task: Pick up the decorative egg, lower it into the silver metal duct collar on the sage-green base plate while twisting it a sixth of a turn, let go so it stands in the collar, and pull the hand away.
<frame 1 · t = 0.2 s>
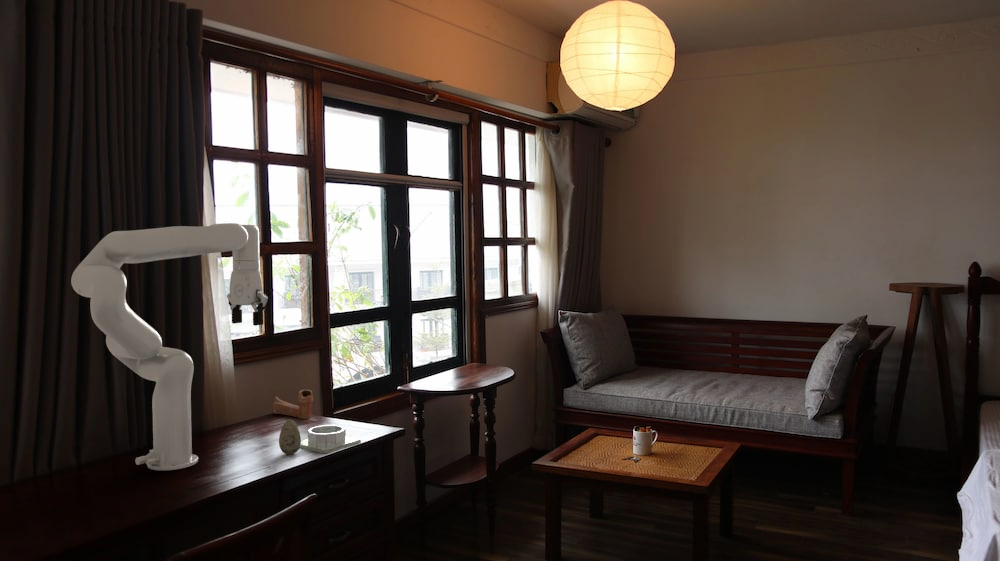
hand: (247, 324, 212), 36 cm above the table, tool pointing down, fingers open, 9 cm apart
decorative egg: (290, 455, 204), on the table
pipe: (293, 417, 249), on the table
duct collar: (327, 444, 214), on the table
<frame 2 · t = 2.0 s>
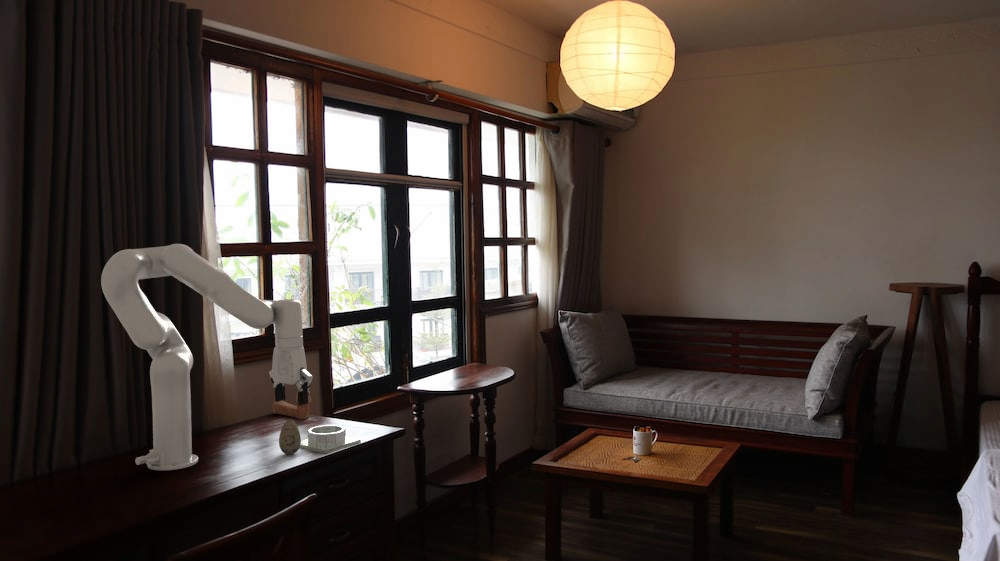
hand: (291, 402, 203), 15 cm above the table, tool pointing down, fingers open, 9 cm apart
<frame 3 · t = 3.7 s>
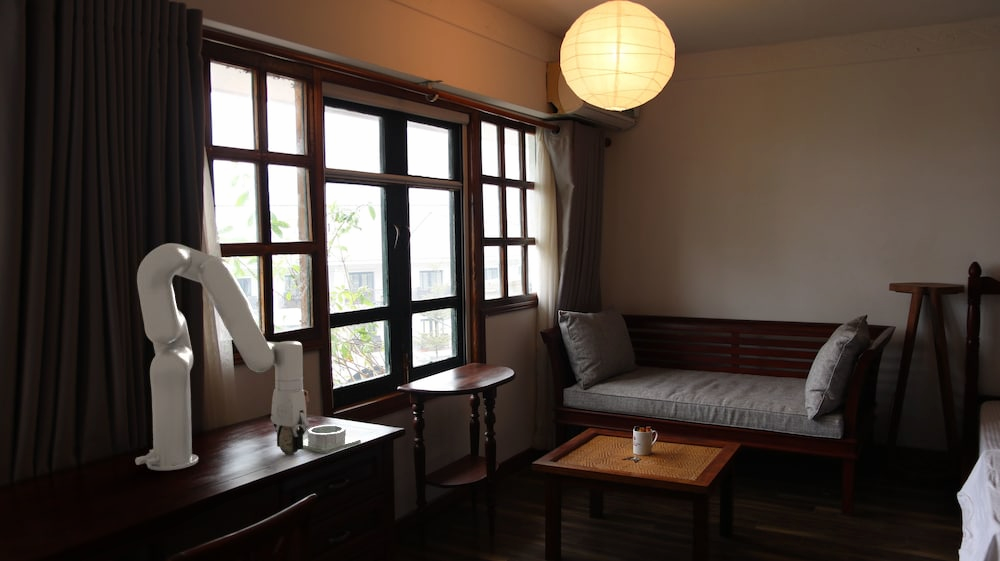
hand: (290, 447, 204), 2 cm above the table, tool pointing down, fingers closed on decorative egg, 6 cm apart
decorative egg: (290, 455, 204), on the table, touching gripper
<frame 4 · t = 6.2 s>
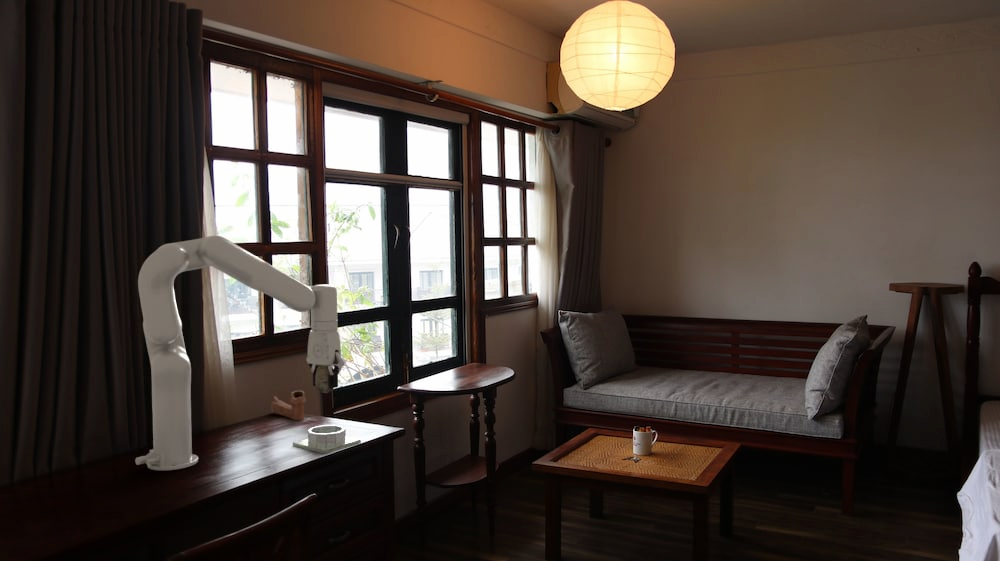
hand: (325, 385, 213), 18 cm above the table, tool pointing down, fingers closed on decorative egg, 6 cm apart
decorative egg: (325, 393, 213), point 15 cm above the table, touching gripper
when the fingers open (5 cm above the table, at t = 8.6 s): decorative egg drops 2 cm, resting on duct collar.
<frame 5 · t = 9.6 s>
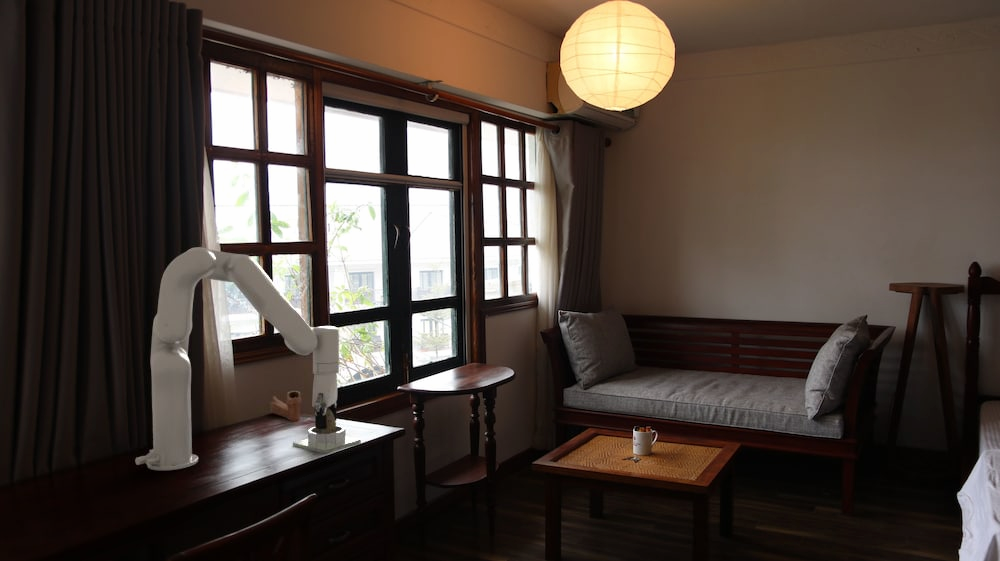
hand: (326, 424, 214), 6 cm above the table, tool pointing down, fingers open, 9 cm apart
decorative egg: (325, 441, 214), point 1 cm above the table, touching duct collar
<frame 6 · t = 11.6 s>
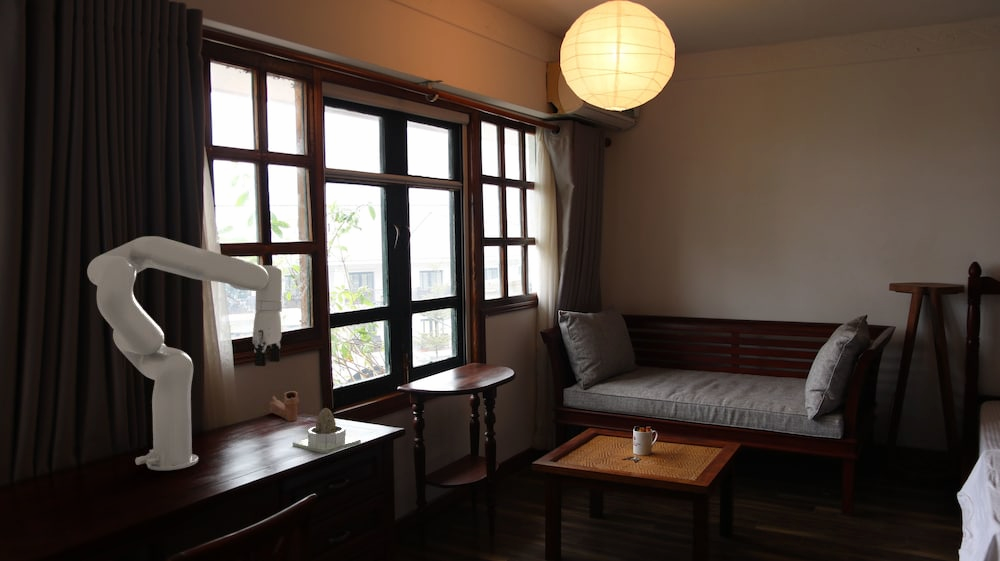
hand: (267, 363, 214), 24 cm above the table, tool pointing down, fingers open, 9 cm apart
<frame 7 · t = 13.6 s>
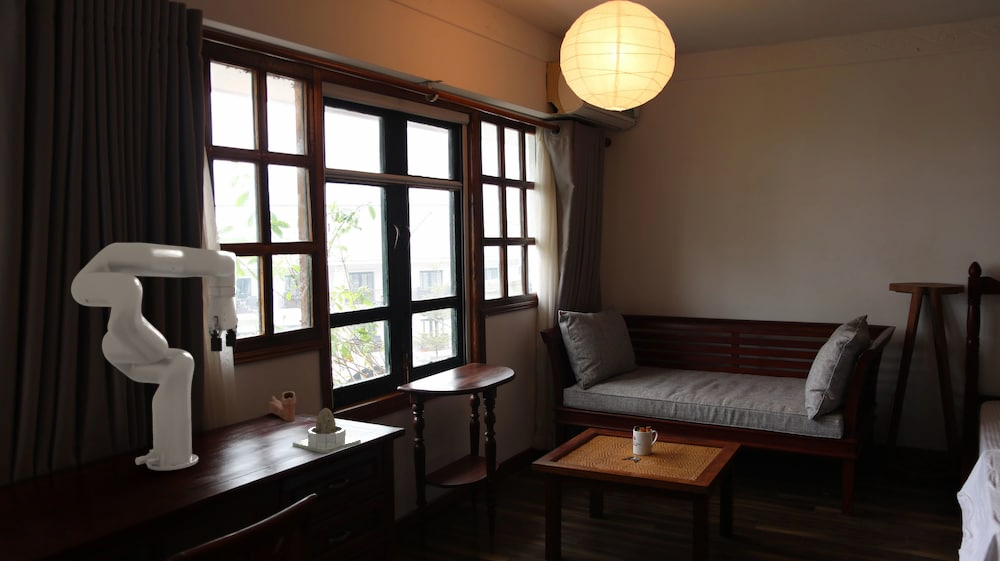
hand: (224, 348, 216), 28 cm above the table, tool pointing down, fingers open, 9 cm apart
at the end: decorative egg 0.3 cm off-centre on the duct collar, point 0.8 cm above the duct collar's base; decorative egg tilted 0°; the gripper is holding nothing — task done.
